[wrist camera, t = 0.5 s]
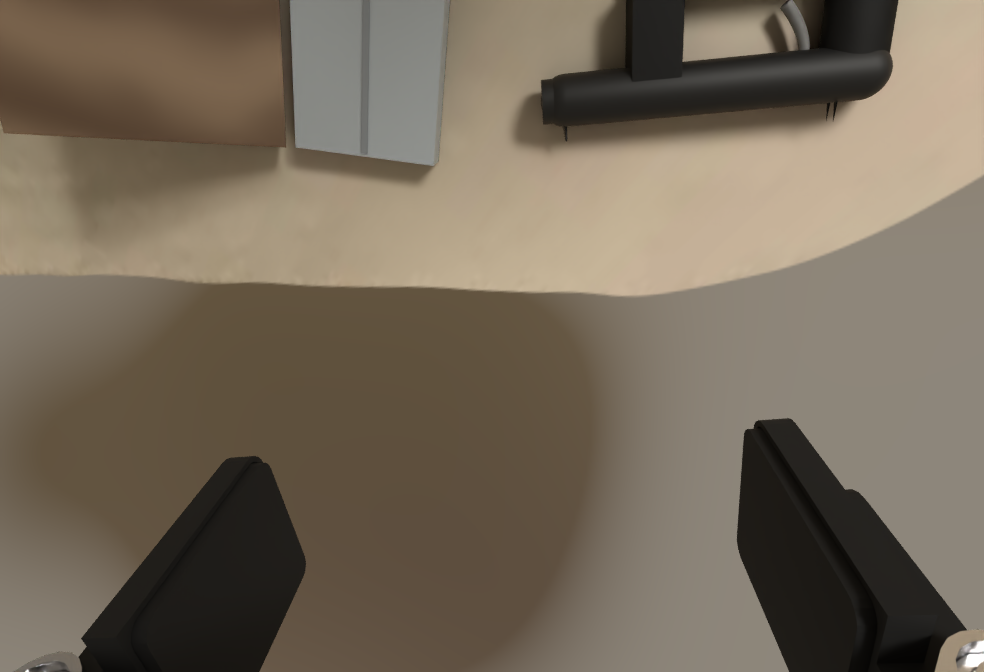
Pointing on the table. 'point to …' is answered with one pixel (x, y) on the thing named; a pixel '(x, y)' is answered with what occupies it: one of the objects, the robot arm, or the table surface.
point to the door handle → (727, 68)
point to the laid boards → (369, 77)
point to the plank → (143, 70)
